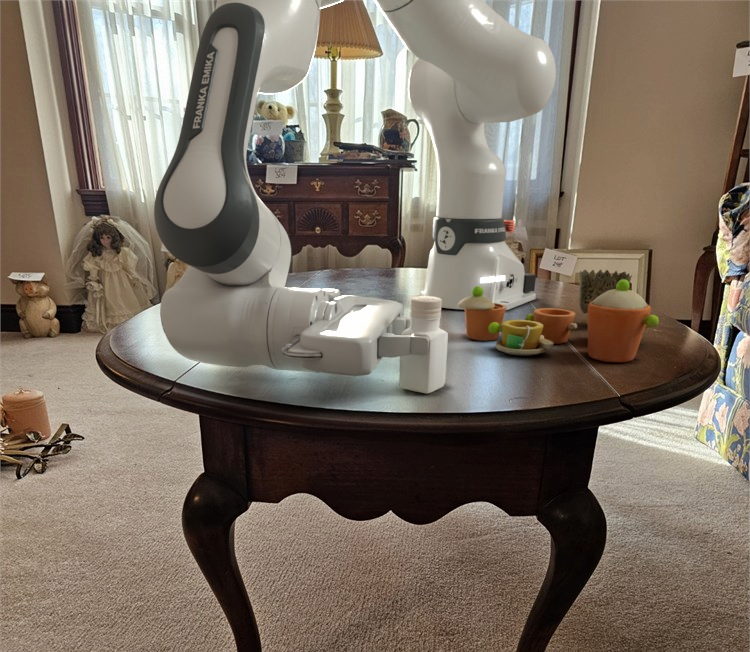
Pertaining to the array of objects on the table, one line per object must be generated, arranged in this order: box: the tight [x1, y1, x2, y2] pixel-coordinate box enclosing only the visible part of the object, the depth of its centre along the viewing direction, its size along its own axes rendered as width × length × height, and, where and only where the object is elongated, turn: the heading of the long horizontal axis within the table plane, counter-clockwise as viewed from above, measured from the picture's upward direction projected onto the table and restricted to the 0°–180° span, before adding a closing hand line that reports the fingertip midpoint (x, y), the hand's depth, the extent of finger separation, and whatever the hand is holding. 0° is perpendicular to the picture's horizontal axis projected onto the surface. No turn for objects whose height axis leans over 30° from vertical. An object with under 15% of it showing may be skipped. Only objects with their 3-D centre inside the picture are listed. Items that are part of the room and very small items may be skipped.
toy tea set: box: [458, 280, 660, 364], centre depth 87 cm, size 26×16×10 cm, turn 80°
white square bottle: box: [398, 295, 449, 395], centre depth 69 cm, size 4×4×10 cm
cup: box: [578, 269, 633, 327], centre depth 99 cm, size 8×7×8 cm
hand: (432, 338), depth 69 cm, fingers closed on white square bottle, 5 cm apart
